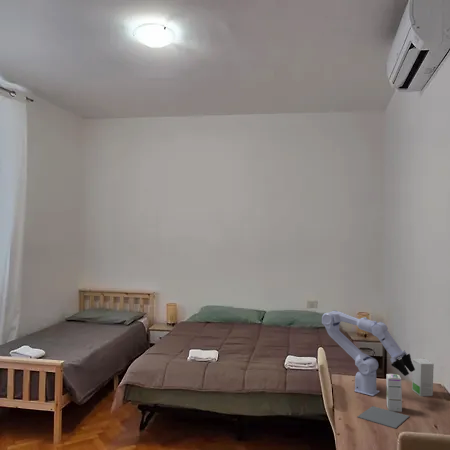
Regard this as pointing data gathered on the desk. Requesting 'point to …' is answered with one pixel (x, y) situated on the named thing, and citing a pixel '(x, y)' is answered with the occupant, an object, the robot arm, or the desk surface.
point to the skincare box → (422, 377)
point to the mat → (383, 417)
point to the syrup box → (394, 392)
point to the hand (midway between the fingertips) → (410, 373)
